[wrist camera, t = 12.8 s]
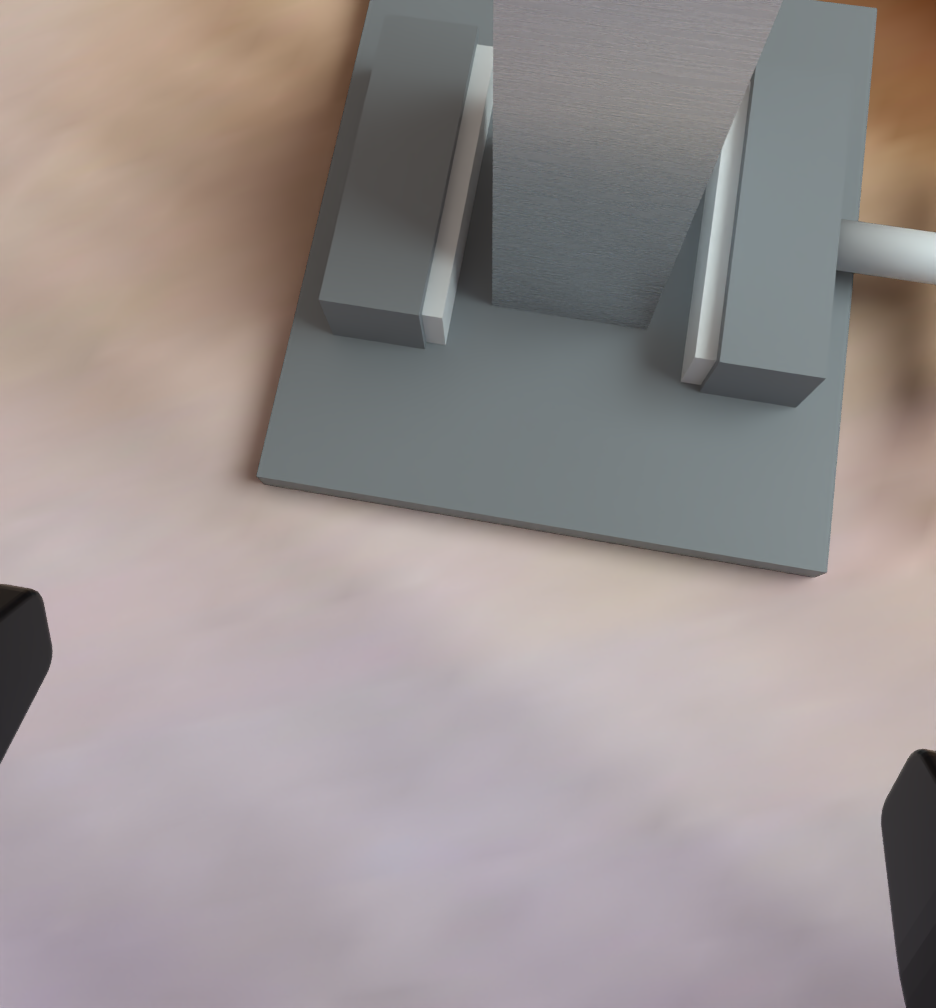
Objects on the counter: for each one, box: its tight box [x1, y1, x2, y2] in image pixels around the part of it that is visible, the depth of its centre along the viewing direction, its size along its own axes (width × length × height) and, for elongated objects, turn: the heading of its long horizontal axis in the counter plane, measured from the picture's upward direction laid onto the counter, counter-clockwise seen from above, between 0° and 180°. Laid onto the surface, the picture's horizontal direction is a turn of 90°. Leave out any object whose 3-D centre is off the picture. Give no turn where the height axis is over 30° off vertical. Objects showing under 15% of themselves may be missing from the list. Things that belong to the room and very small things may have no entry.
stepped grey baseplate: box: [257, 0, 936, 577], centre depth 22 cm, size 16×18×3 cm
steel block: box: [492, 0, 783, 330], centre depth 17 cm, size 5×4×12 cm
